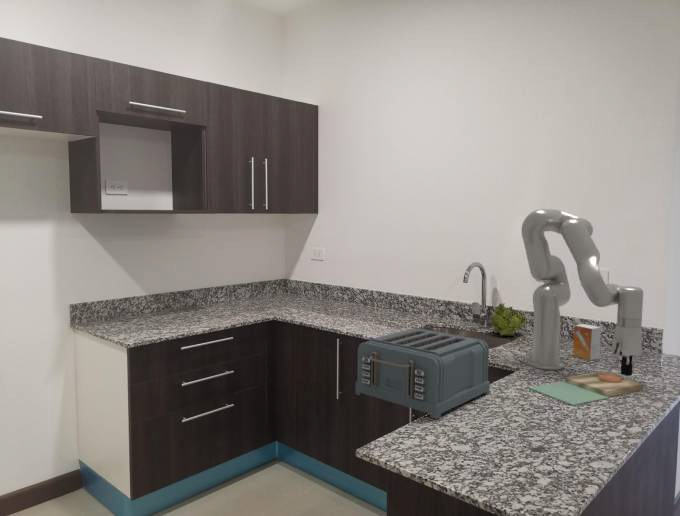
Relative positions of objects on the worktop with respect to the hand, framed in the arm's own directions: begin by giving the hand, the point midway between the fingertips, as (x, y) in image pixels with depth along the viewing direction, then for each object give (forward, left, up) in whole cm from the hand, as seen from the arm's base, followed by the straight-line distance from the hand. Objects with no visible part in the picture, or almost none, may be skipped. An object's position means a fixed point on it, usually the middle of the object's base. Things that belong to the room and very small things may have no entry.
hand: (626, 374), depth 189 cm
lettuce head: (-71, +13, -3) cm, 73 cm away
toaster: (-19, -73, -3) cm, 76 cm away
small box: (-29, +16, -3) cm, 33 cm away
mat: (0, -28, -3) cm, 29 cm away
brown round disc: (0, -8, -1) cm, 9 cm away
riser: (0, -11, -3) cm, 12 cm away
